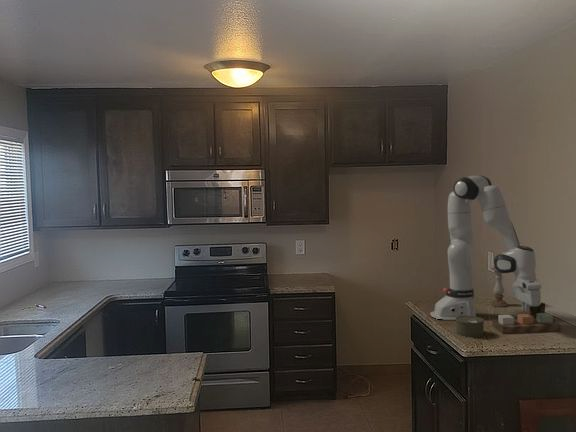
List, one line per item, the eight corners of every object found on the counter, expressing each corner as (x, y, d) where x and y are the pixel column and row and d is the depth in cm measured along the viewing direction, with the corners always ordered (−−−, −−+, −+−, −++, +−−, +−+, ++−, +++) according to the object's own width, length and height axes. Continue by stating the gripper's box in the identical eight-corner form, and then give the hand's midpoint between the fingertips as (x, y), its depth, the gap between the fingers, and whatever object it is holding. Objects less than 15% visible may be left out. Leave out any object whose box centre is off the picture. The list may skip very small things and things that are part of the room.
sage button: (541, 323, 244) (541, 316, 243) (536, 320, 249) (536, 313, 248) (552, 323, 244) (552, 315, 244) (547, 320, 249) (547, 313, 249)
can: (475, 329, 248) (475, 314, 248) (489, 337, 236) (488, 321, 236) (451, 331, 247) (451, 316, 246) (463, 339, 235) (463, 323, 234)
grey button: (503, 325, 243) (502, 317, 243) (498, 322, 248) (498, 315, 248) (513, 325, 243) (513, 317, 243) (509, 322, 248) (508, 314, 248)
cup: (526, 319, 261) (526, 303, 260) (532, 316, 266) (532, 300, 265) (542, 322, 255) (542, 305, 255) (547, 319, 260) (547, 302, 260)
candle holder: (496, 302, 296) (496, 266, 295) (511, 305, 289) (510, 268, 288) (487, 305, 291) (486, 268, 290) (501, 308, 284) (501, 270, 283)
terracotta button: (522, 324, 243) (522, 317, 243) (517, 321, 248) (517, 314, 248) (533, 324, 244) (533, 316, 243) (528, 321, 249) (528, 313, 248)
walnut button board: (503, 333, 240) (503, 327, 240) (492, 326, 252) (492, 320, 252) (560, 331, 241) (560, 324, 240) (546, 323, 253) (546, 317, 252)
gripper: (508, 277, 255) (509, 306, 256) (529, 286, 234) (529, 317, 235) (521, 277, 255) (522, 305, 256) (543, 285, 234) (543, 316, 235)
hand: (525, 311), depth 245 cm, fingers closed
